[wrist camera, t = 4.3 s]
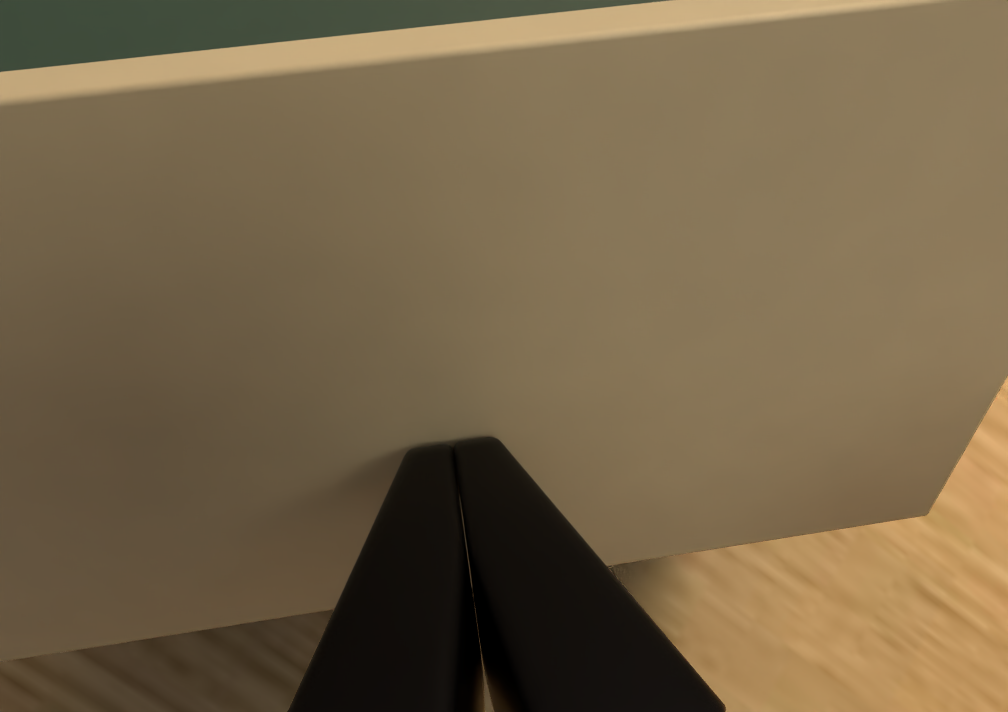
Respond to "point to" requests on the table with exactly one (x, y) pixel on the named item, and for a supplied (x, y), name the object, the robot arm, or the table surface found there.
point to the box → (225, 24)
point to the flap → (488, 291)
